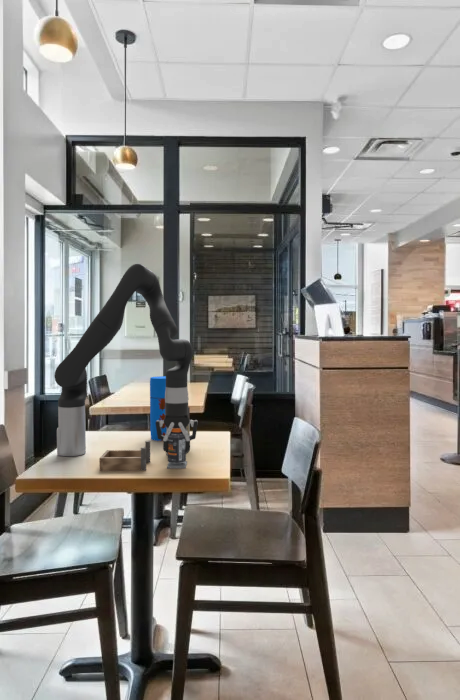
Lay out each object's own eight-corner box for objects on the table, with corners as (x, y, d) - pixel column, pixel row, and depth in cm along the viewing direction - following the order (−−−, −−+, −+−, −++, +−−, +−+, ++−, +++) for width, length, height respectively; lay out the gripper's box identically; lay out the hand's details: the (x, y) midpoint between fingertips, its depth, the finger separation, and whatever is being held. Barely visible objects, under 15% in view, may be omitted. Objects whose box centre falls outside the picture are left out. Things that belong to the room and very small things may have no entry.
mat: (167, 468, 168) (167, 466, 168) (169, 462, 175) (169, 461, 175) (185, 468, 168) (185, 466, 168) (187, 462, 175) (187, 461, 175)
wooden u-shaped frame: (99, 470, 166) (99, 448, 166) (107, 462, 177) (106, 441, 177) (145, 470, 166) (145, 448, 166) (150, 461, 177) (150, 441, 177)
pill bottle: (164, 461, 172) (163, 427, 171) (178, 458, 176) (178, 424, 176) (175, 464, 168) (175, 429, 167) (189, 461, 172) (189, 427, 171)
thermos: (153, 435, 221) (152, 376, 220) (178, 435, 221) (178, 376, 220) (148, 441, 210) (147, 378, 209) (174, 441, 210) (174, 378, 209)
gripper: (153, 402, 167) (153, 455, 168) (198, 402, 167) (198, 454, 168) (155, 399, 175) (156, 449, 175) (199, 399, 175) (199, 449, 176)
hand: (176, 451), depth 172 cm, fingers closed on pill bottle, 6 cm apart
